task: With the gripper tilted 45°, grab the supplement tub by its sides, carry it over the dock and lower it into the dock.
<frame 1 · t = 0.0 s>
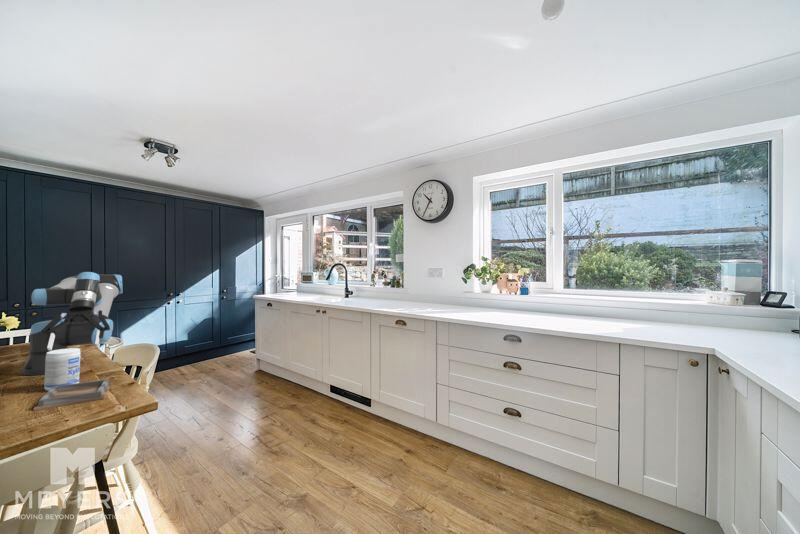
hand: (73, 347, 125), 15 cm above the table, tool tilted 35°, fingers open, 13 cm apart
supplement tub: (62, 387, 122), on the table
dock: (76, 396, 113), on the table
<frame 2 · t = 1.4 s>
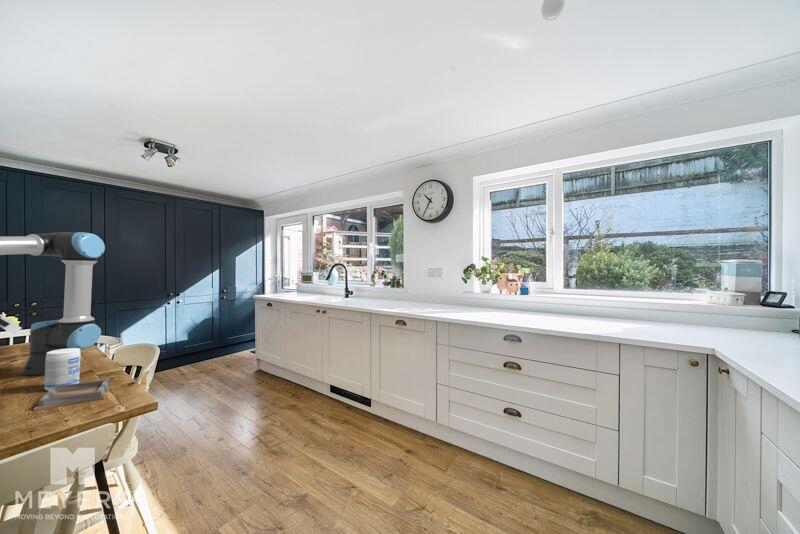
hand: (15, 328, 111), 25 cm above the table, tool tilted 45°, fingers open, 13 cm apart
nothing on the table moved.
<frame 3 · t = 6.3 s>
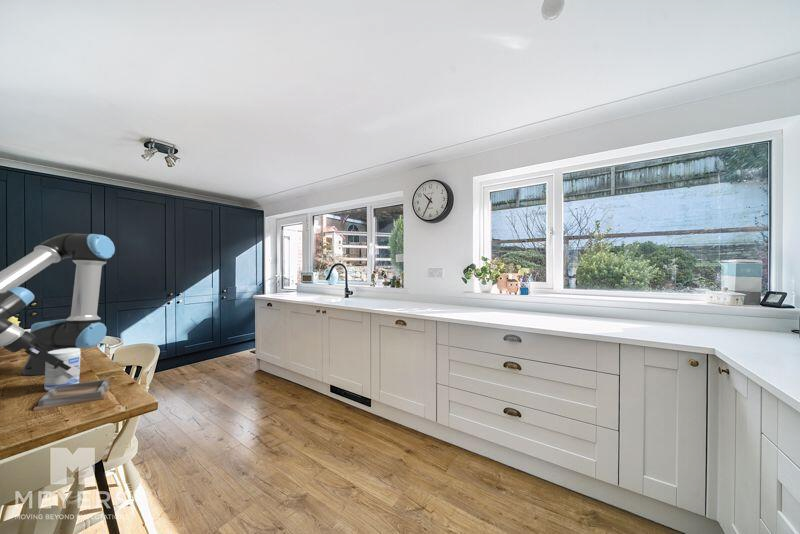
hand: (73, 370, 124), 6 cm above the table, tool tilted 45°, fingers closed on supplement tub, 10 cm apart
supplement tub: (62, 387, 122), on the table, touching gripper
when the fingers open (8 cm above the table, at t = 11.8 s): supplement tub drops 2 cm, resting on dock.
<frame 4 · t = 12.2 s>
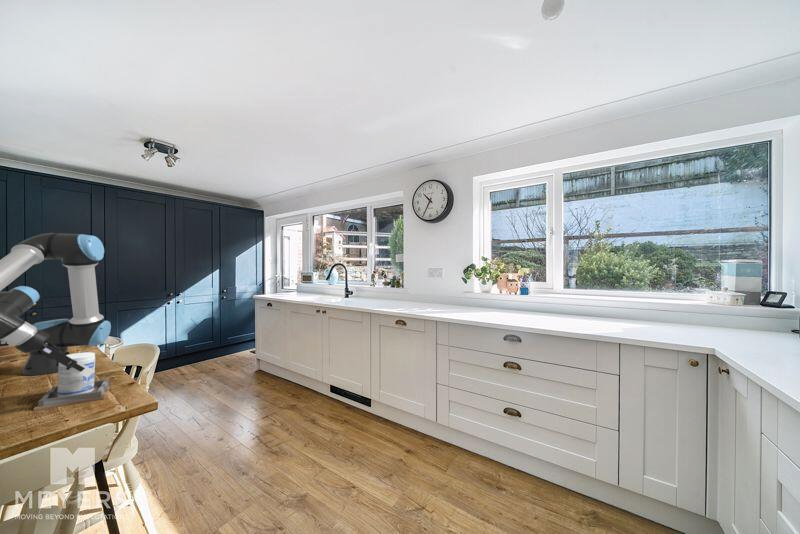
hand: (86, 370, 116), 9 cm above the table, tool tilted 45°, fingers open, 13 cm apart
supplement tub: (76, 394, 114), point 1 cm above the table, touching dock
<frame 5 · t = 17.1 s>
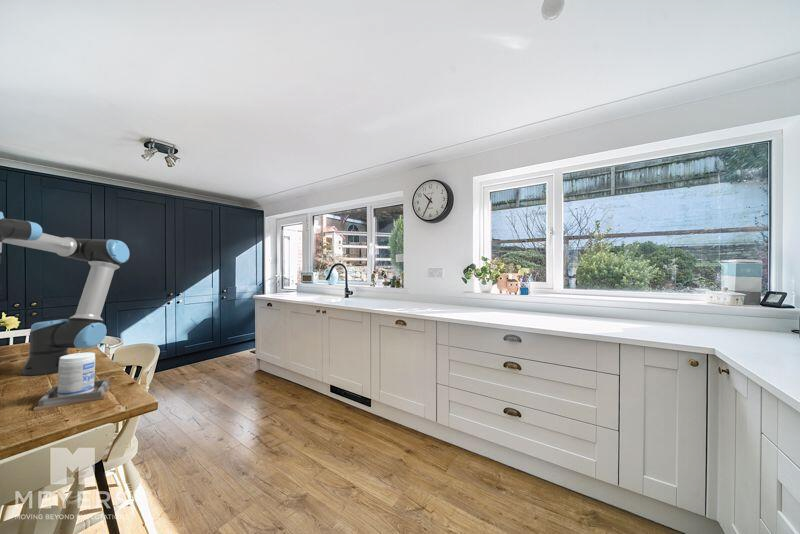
nothing on the table moved.
at the end: supplement tub 0.2 cm off-centre on the dock, point 0.6 cm above the dock's base; supplement tub tilted 0°; the gripper is holding nothing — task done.
